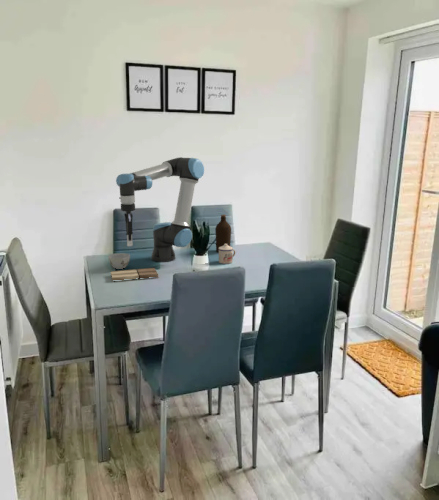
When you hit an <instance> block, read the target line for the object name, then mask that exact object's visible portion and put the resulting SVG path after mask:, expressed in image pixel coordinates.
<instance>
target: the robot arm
mask: <svg viewBox="0 0 439 500" xmlns="http://www.w3.org/2000/svg"><path fill="white" fill-rule="evenodd" d="M204 173H205V166H204V164H203V161H201V159H199V158H194V157H176V158H171V159H168V160H166V161H163V162H161V164H158V165H155V166H150V167H148V168H147V167H146V168H143V169H140V170H137V171H133V172H130V173H120V174H118V175H117V177H116V178H115V183H116V186H118V187H119V195H120V196H119V199H120V211H121V212H125V213H124V214H123V215H124V222H125V232H126V233H125V235H126V245H127V246H126V247H133V245H134V244H133V234H134V232H133V217H134V216H133V213H132V212H133V211H135V210H136V204H135V202H136V198H135V197H136V196H135V192H139V191H147V190H150V189H151V188H152V187H153V181H155V180H158V179H161V178H164V177H166V178H171V177H179V178H178V179H179V181H180V185H179V186H180V187H179V192H178V196H177V203H176V208H175V214H174V218H173V221H172V222H170V221H169V222H167V221H165V222H159V223H155V224H154V225H153V230H152V235H153V249H152V253H151V260H152V261H154V262H160V263H161V262H162V263H163V262H171V261H174V260H176V254H175V250H174V248H173V246H174V247H177V248H185V247H187V246H188V245H189V244H190V243H191V241H192V238H193V232H192V231H191V228H190V224H189V220H190V214H191V213H190V212H191V209H192V203H193V197H194V193H195V186H196V185H197V184H198V183H199V179H201V178H202V177H203V176H204Z"/></svg>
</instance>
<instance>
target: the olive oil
mask: <svg viewBox="0 0 439 500" xmlns="http://www.w3.org/2000/svg"><path fill="white" fill-rule="evenodd" d="M226 216H227V215H226V214H220V221H219V222H218V223H217V224H216V226H215V228H214V229H215V247H216V248H215V249H216V250H215V251H216V253H218V254H219V249H218V248H219V247H221V246H223V245H224V244H227V245H228V246H230V247H231V239H232V238H231V237H232V227H231V224H229V222H228V221H227V217H226Z"/></svg>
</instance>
